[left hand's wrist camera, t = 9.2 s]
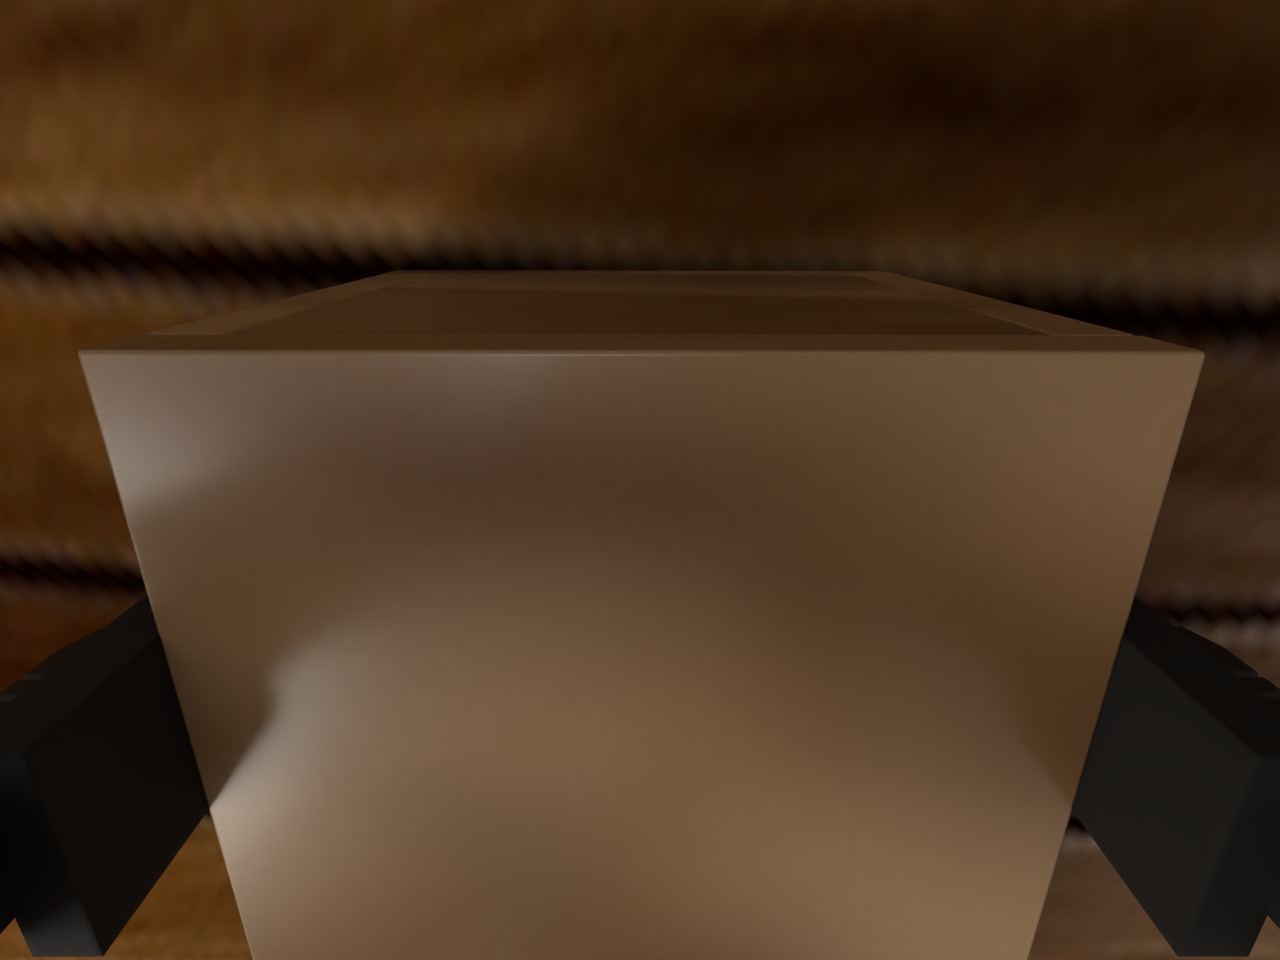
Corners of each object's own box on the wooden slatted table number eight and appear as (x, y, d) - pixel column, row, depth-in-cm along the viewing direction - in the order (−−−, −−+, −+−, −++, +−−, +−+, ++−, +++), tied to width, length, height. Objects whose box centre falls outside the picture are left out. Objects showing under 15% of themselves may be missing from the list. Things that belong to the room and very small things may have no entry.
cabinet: (808, 903, 24) (915, 1347, 15) (471, 901, 24) (362, 1344, 15) (886, 270, 16) (1210, 351, 7) (396, 269, 16) (73, 349, 7)
